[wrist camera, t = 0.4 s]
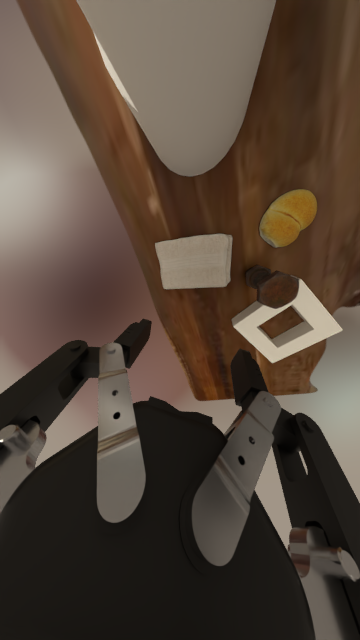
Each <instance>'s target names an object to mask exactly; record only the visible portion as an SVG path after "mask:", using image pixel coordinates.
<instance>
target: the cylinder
mask: <svg viewBox="0 0 360 640" xmlns="http://www.w3.org/2000/svg"><path fill="white" fill-rule="evenodd" d="M76 1H77V3H78V4H79V6H80V8H81V10H82V12H83V13H84V15H85V17H86V19H87V21H88V22H89V24H90V26H91V28H92V30H93V32H94V35H95V38H96V41H97V44H98V46H99V49H100V52H101V55H102V58H103V60H104V63H105V66H106V68H107V70H108V72H109V73H110V75H111V77H112V79H113V80H114V82H115V84H116V86H117V88H118V89H119V91H120V93H121V95H122V96H123V98H124V100H125V101H126V103H127V105H128V106H129V108H130V110H131V111H132V113H133V115H134V116H135V118H136V120H137V121H138V123H139V125H140V126H141V128H142V130H143V132H144V133H145V135H146V137H147V138H148V140H149V142H150V143H151V145H152V147H153V148H154V150H155V152H156V153H157V155H158V157H159V158H160V160H161V161H162V162H163V163H164V164H165V165H166V166H167V167H168V168H169V170H171V171H173V172H175V173H177V174H179V175H182V176H190V177H192V176H196V175H200V174H203V173H205V172H207V171H208V170H210V169H212V168H213V167H215V166H216V165H217V164H218V163H219V162H220V161H221V160H222V159H223V158H224V157H225V155H226V154H227V152H228V151H229V149H230V148H231V146H232V145H233V143H234V141H235V140H236V137H237V135H238V133H239V130H240V128H241V125H242V123H243V121H244V117H245V113H246V110H247V106H248V102H249V99H250V95H251V91H252V88H253V84H254V80H255V77H256V73H257V69H258V66H259V62H260V58H261V55H262V51H263V47H264V44H265V40H266V36H267V32H268V29H269V25H270V21H271V18H272V14H273V10H274V7H275V3H276V0H76Z"/></svg>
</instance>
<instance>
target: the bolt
mask: <svg viewBox="0 0 360 640" xmlns="http://www.w3.org/2000/svg"><path fill="white" fill-rule="evenodd" d="M246 284H247V286H250V287H252V288H255V289H257V301H258V302H259V303H260V304H262V305H265V306H267V307H270V308H273V309H277V308H280V307H283V306H285V305H287V304H289V303H290V302H292V301H293V300H294V299H295V298H296V297H297V294H298V291H299V279H298V278H295V277H293V276H290V275H287V274H284V273H282V272H279V271H275V272H273V273H272V274H271V270H270V269H267V268H265V267H262V266H259V265H256V266H255V267H252V268H250V269H249V270H247V271H246Z"/></svg>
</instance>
